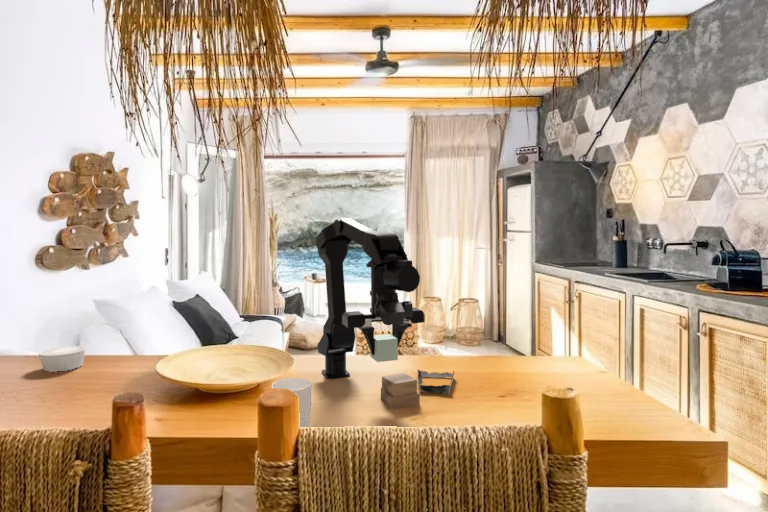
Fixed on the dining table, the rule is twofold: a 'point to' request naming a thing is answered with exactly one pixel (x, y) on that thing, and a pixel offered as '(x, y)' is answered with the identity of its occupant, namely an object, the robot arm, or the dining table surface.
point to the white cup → (299, 395)
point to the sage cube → (385, 348)
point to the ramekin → (62, 358)
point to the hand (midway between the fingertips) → (383, 353)
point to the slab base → (400, 399)
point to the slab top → (399, 384)
